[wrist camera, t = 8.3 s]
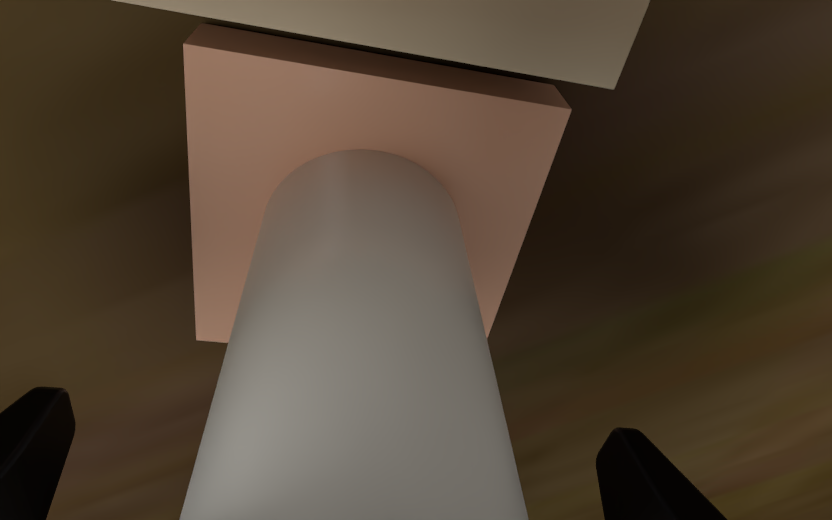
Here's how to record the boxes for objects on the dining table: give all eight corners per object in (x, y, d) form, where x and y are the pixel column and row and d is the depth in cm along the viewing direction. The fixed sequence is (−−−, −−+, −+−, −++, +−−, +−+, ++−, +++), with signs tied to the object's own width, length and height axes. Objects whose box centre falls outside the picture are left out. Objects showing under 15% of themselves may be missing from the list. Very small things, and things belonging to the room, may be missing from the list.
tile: (470, 329, 18) (477, 364, 17) (208, 303, 17) (196, 339, 16) (553, 84, 13) (571, 109, 12) (201, 22, 12) (183, 43, 11)
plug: (442, 326, 16) (516, 825, 8) (250, 307, 15) (116, 846, 7) (493, 159, 13) (694, 694, 5) (257, 123, 12) (32, 703, 4)
